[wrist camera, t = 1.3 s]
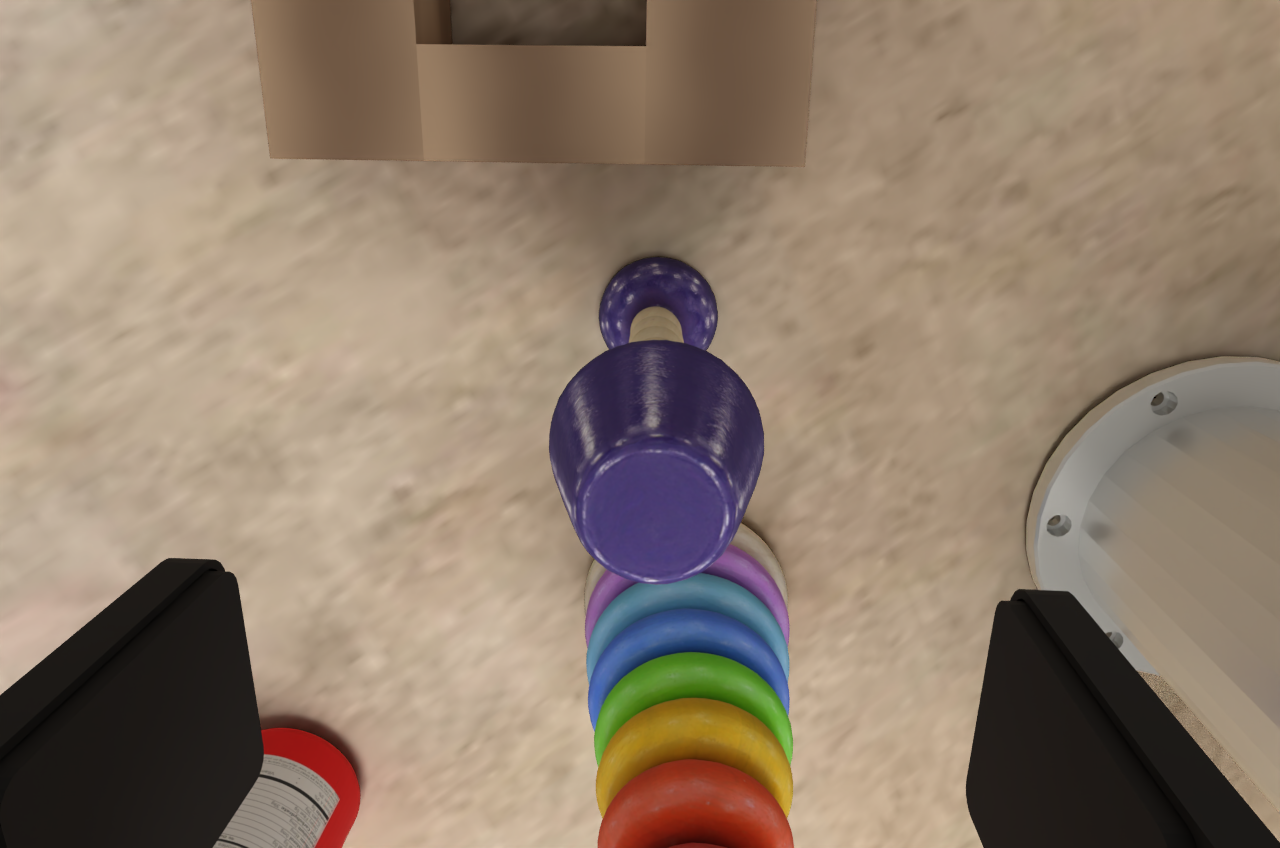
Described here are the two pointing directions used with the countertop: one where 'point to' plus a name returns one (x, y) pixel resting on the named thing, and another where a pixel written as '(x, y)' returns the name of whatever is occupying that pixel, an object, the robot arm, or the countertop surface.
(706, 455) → the toy lamp
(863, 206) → the countertop surface
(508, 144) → the brown flat frame block
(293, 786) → the beverage can
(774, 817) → the stacking toy
